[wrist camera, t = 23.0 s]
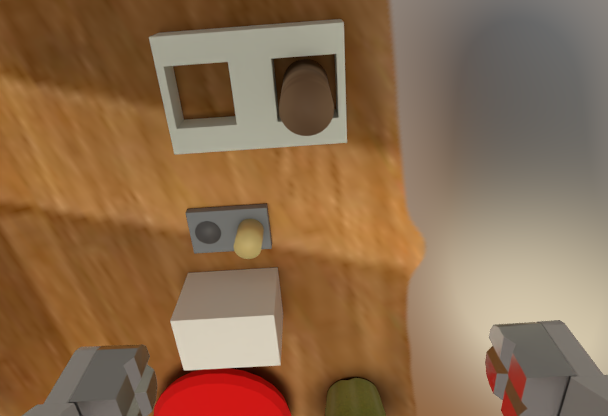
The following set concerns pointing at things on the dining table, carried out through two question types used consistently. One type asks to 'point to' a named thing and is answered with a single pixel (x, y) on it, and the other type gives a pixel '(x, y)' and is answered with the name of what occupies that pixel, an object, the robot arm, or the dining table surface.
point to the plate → (230, 229)
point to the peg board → (247, 83)
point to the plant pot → (353, 399)
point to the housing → (229, 319)
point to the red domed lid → (221, 395)
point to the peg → (306, 98)
